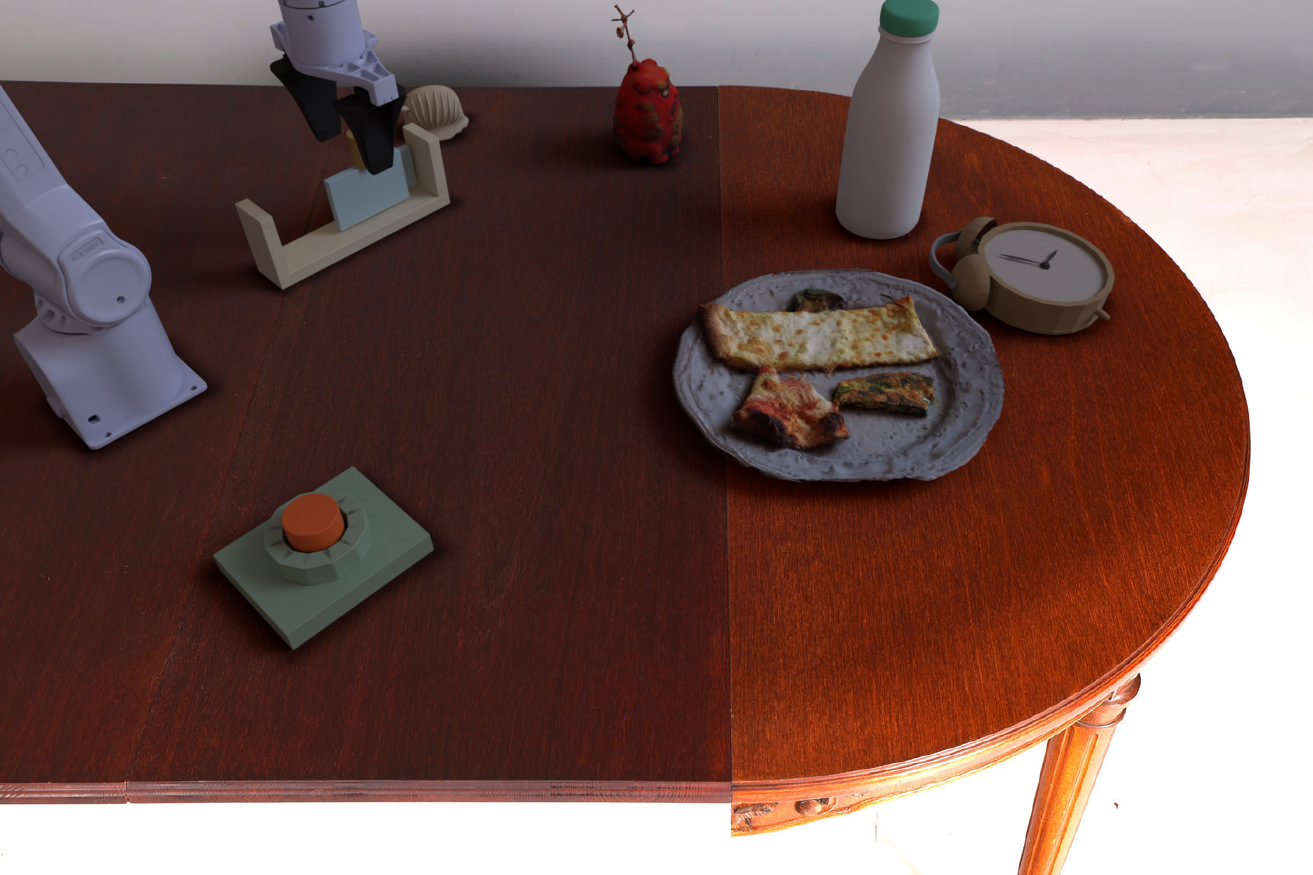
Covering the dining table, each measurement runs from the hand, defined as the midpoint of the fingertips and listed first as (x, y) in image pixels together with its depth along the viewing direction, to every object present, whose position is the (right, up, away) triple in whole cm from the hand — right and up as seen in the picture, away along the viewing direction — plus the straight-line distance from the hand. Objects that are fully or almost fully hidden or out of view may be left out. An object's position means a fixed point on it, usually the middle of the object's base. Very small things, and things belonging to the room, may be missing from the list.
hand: (354, 153), depth 89 cm
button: (+4, -30, -21) cm, 37 cm away
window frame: (-2, -6, +7) cm, 9 cm away
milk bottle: (+46, -4, +8) cm, 47 cm away
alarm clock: (+56, -12, +1) cm, 58 cm away
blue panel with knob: (0, -3, +7) cm, 8 cm away
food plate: (+39, -20, -7) cm, 45 cm away
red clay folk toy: (+25, +5, +17) cm, 31 cm away
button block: (+4, -32, -19) cm, 38 cm away
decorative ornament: (+2, +8, +20) cm, 22 cm away
